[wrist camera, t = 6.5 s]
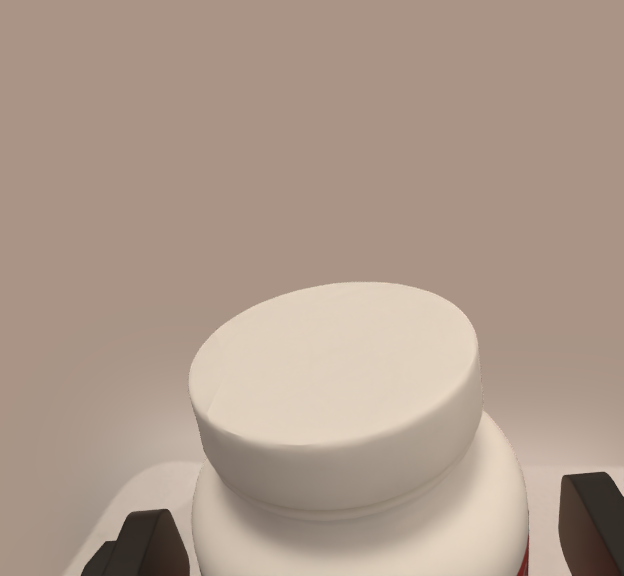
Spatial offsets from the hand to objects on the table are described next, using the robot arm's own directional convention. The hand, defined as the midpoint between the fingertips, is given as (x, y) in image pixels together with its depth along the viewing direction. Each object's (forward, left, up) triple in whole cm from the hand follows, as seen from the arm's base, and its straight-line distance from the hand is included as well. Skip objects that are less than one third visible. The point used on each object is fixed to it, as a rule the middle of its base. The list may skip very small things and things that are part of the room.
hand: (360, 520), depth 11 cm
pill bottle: (0, 0, -7) cm, 7 cm away
